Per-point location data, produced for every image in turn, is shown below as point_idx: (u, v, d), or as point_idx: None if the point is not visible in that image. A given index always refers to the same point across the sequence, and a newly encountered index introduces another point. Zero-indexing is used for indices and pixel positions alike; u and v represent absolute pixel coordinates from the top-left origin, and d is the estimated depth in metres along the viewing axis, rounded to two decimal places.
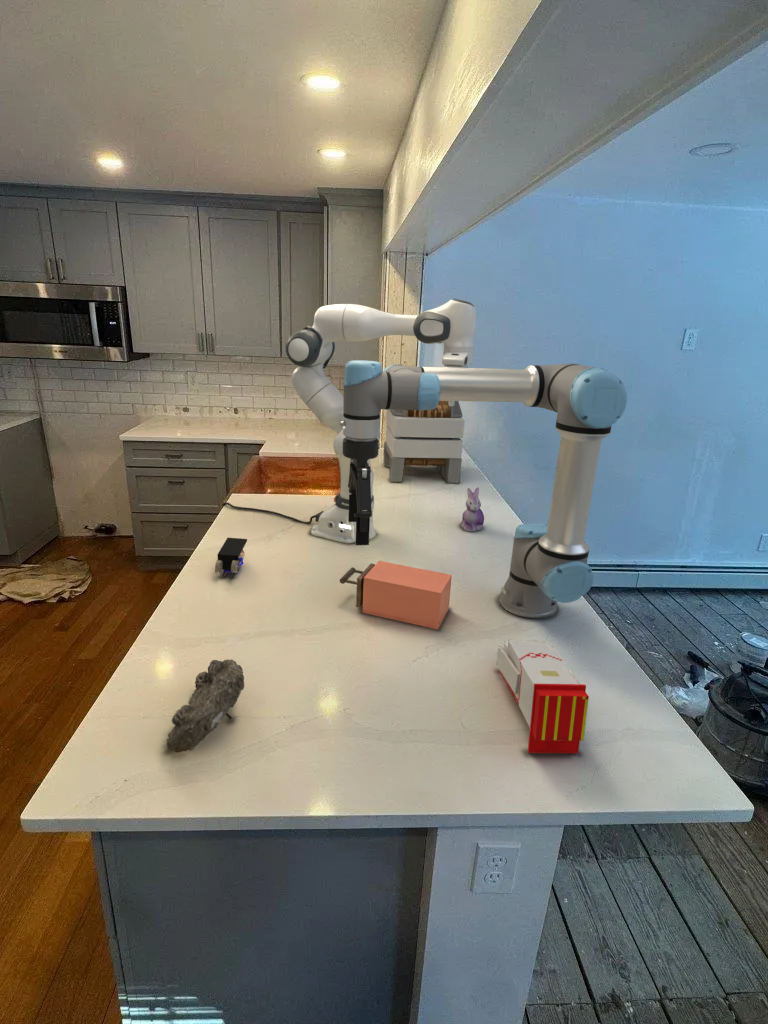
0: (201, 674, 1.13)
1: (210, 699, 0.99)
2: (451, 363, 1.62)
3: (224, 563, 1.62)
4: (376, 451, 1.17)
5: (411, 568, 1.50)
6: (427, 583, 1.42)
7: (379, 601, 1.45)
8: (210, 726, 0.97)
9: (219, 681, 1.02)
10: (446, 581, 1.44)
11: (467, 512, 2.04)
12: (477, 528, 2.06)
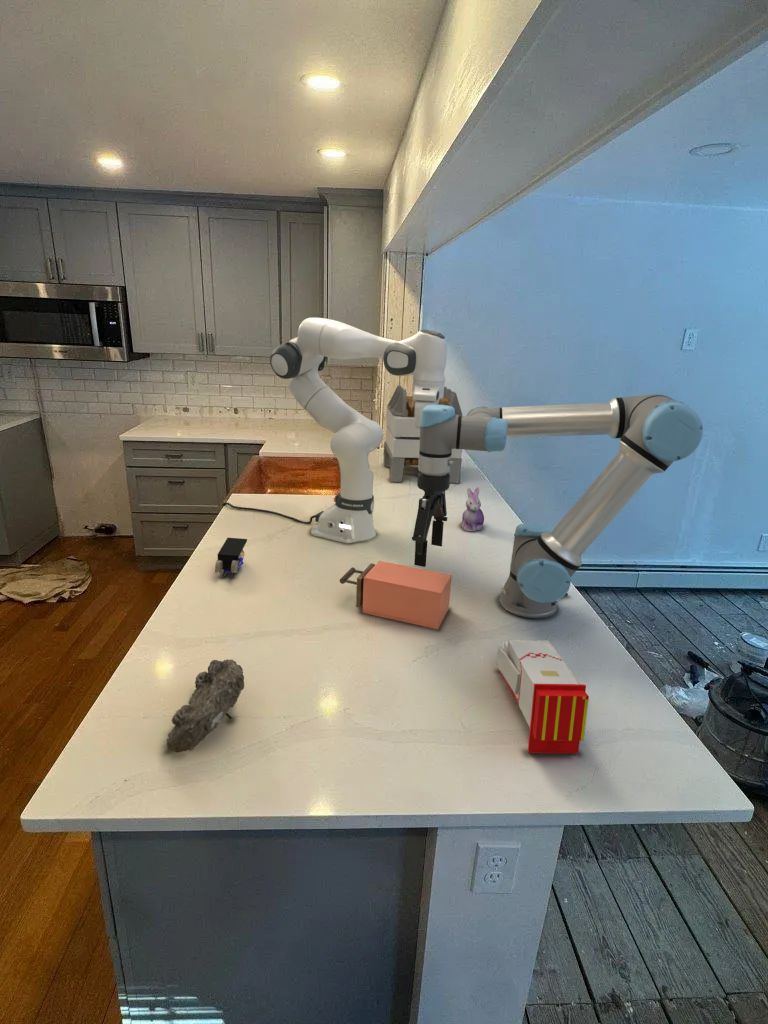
0: (201, 674, 1.13)
1: (210, 699, 0.99)
2: (422, 399, 1.52)
3: (224, 563, 1.62)
4: None
5: (411, 568, 1.50)
6: (427, 583, 1.42)
7: (379, 601, 1.45)
8: (210, 726, 0.97)
9: (219, 681, 1.02)
10: (446, 581, 1.44)
11: (467, 512, 2.04)
12: (477, 528, 2.06)
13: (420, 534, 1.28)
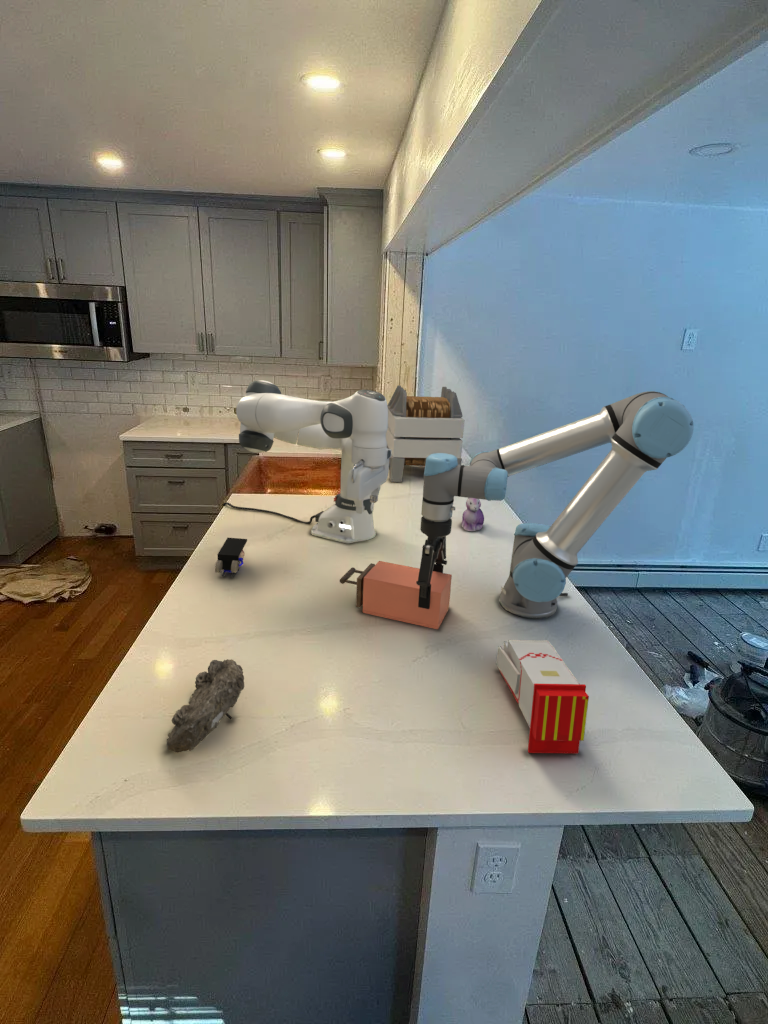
0: (201, 674, 1.13)
1: (210, 699, 0.99)
2: None
3: (224, 563, 1.62)
4: None
5: (411, 568, 1.50)
6: None
7: (379, 601, 1.45)
8: (210, 726, 0.97)
9: (219, 681, 1.02)
10: (446, 581, 1.44)
11: (467, 512, 2.04)
12: (477, 528, 2.06)
13: (424, 579, 1.34)
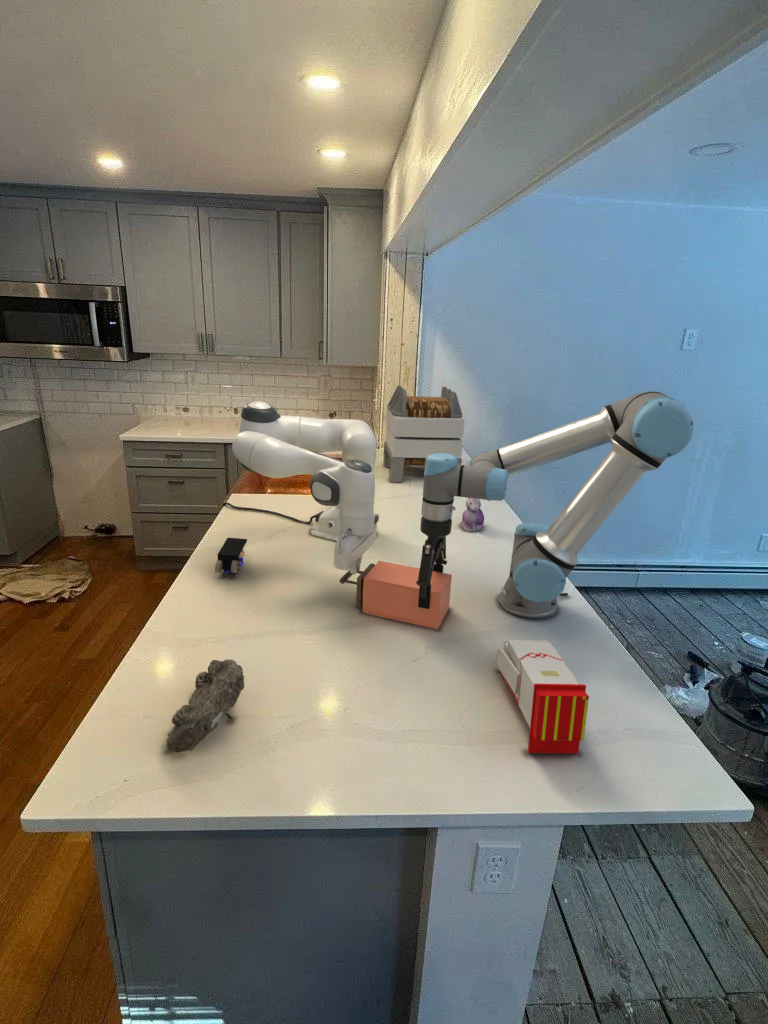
0: (201, 674, 1.13)
1: (210, 699, 0.99)
2: None
3: (224, 563, 1.62)
4: None
5: (411, 568, 1.50)
6: None
7: (379, 601, 1.45)
8: (210, 726, 0.97)
9: (219, 681, 1.02)
10: (446, 581, 1.44)
11: (467, 512, 2.04)
12: (477, 528, 2.06)
13: (424, 579, 1.34)
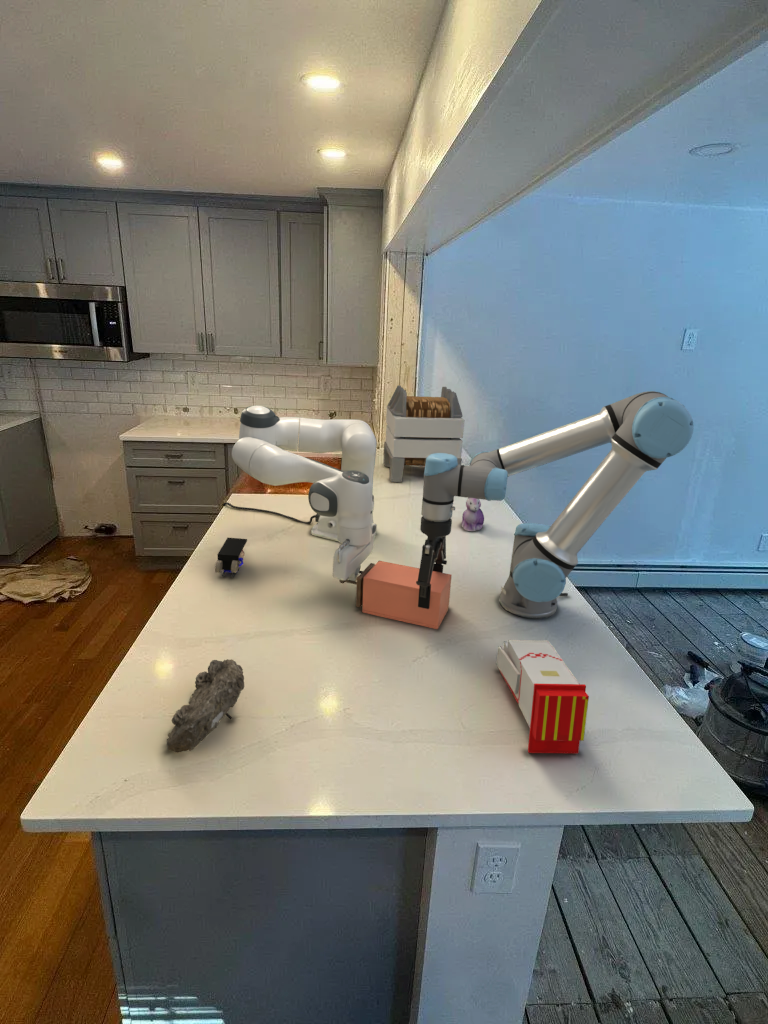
0: (201, 674, 1.13)
1: (210, 699, 0.99)
2: None
3: (224, 563, 1.62)
4: None
5: (411, 568, 1.50)
6: None
7: (379, 601, 1.45)
8: (210, 726, 0.97)
9: (219, 681, 1.02)
10: (446, 581, 1.44)
11: (467, 512, 2.04)
12: (477, 528, 2.06)
13: (424, 579, 1.34)
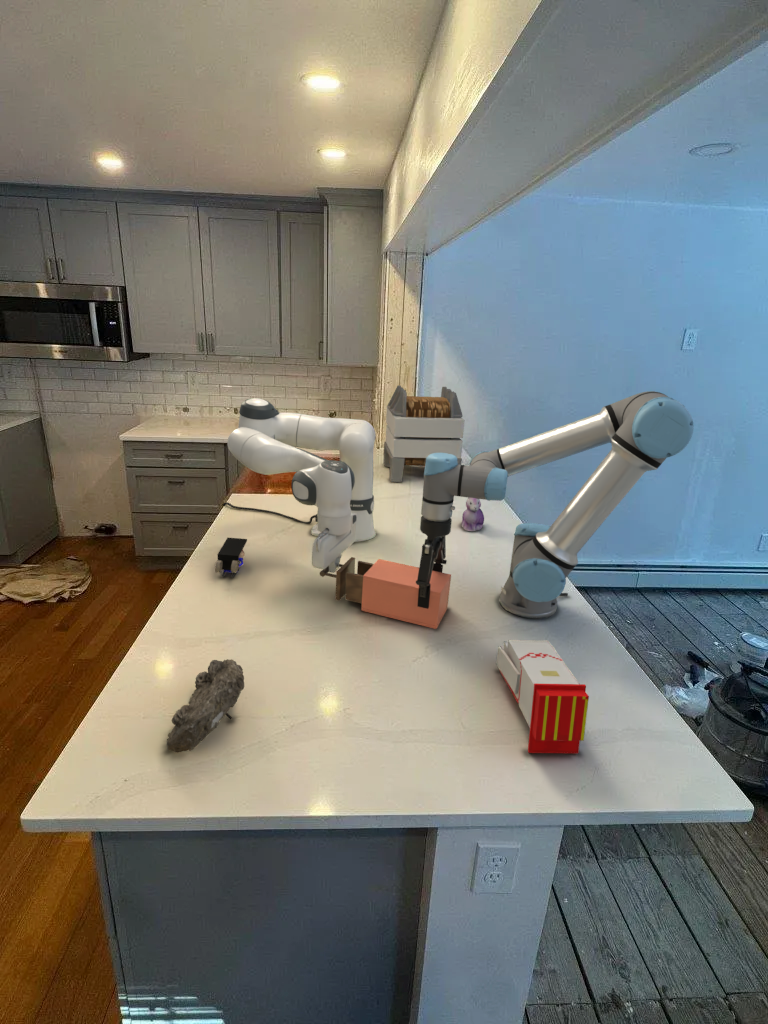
0: (201, 674, 1.13)
1: (210, 699, 0.99)
2: None
3: (224, 563, 1.62)
4: None
5: (411, 567, 1.50)
6: None
7: (378, 599, 1.45)
8: (210, 726, 0.97)
9: (219, 681, 1.02)
10: (445, 581, 1.44)
11: (467, 512, 2.04)
12: (477, 528, 2.06)
13: (424, 579, 1.34)
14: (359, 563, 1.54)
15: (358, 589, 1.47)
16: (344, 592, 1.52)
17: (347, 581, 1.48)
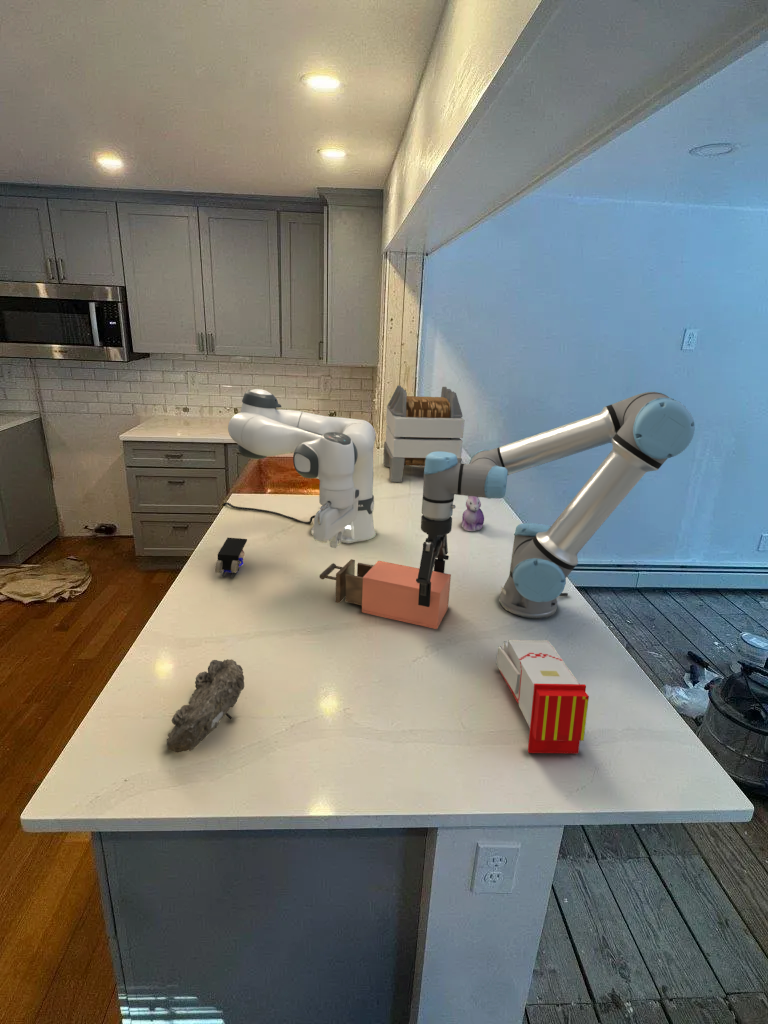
0: (201, 674, 1.13)
1: (210, 699, 0.99)
2: None
3: (224, 563, 1.62)
4: None
5: (410, 568, 1.50)
6: None
7: (378, 601, 1.45)
8: (210, 726, 0.97)
9: (219, 681, 1.02)
10: (445, 581, 1.44)
11: (467, 512, 2.04)
12: (477, 528, 2.06)
13: (424, 577, 1.33)
14: (359, 565, 1.54)
15: (358, 591, 1.47)
16: (344, 594, 1.52)
17: (347, 583, 1.48)
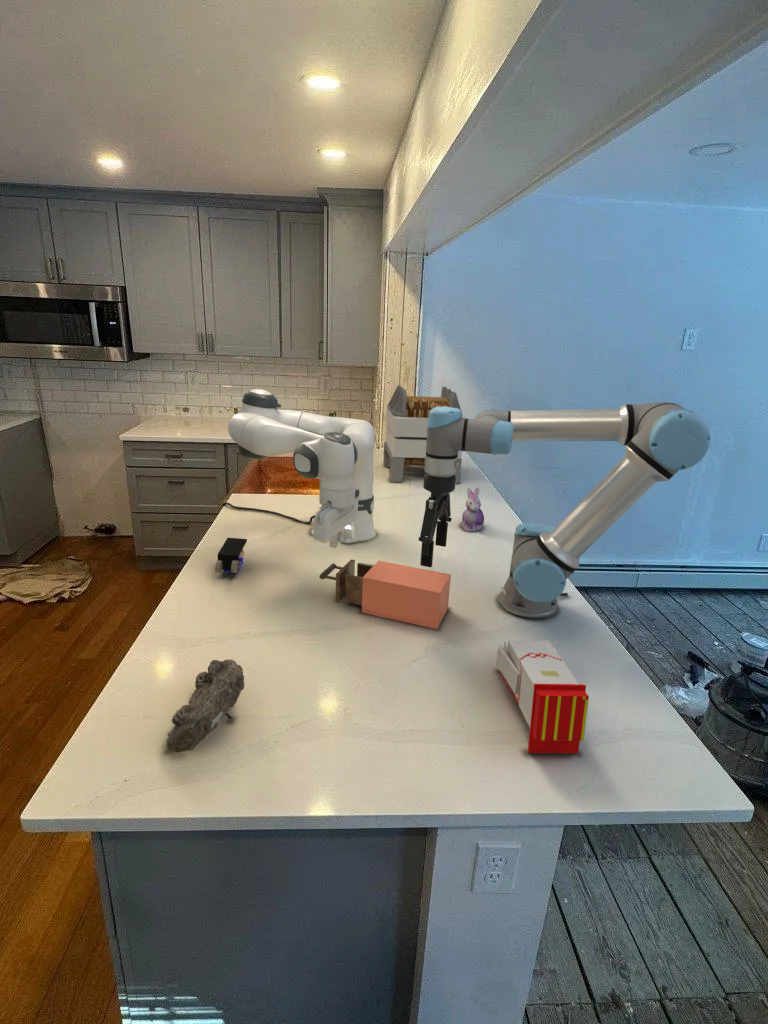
0: (201, 674, 1.13)
1: (210, 699, 0.99)
2: None
3: (224, 563, 1.62)
4: None
5: (410, 568, 1.50)
6: (426, 583, 1.42)
7: (378, 601, 1.45)
8: (210, 726, 0.97)
9: (219, 681, 1.02)
10: (445, 581, 1.44)
11: (467, 512, 2.04)
12: (477, 528, 2.06)
13: (427, 535, 1.30)
14: (359, 565, 1.54)
15: (358, 591, 1.47)
16: (344, 594, 1.52)
17: (347, 583, 1.48)
